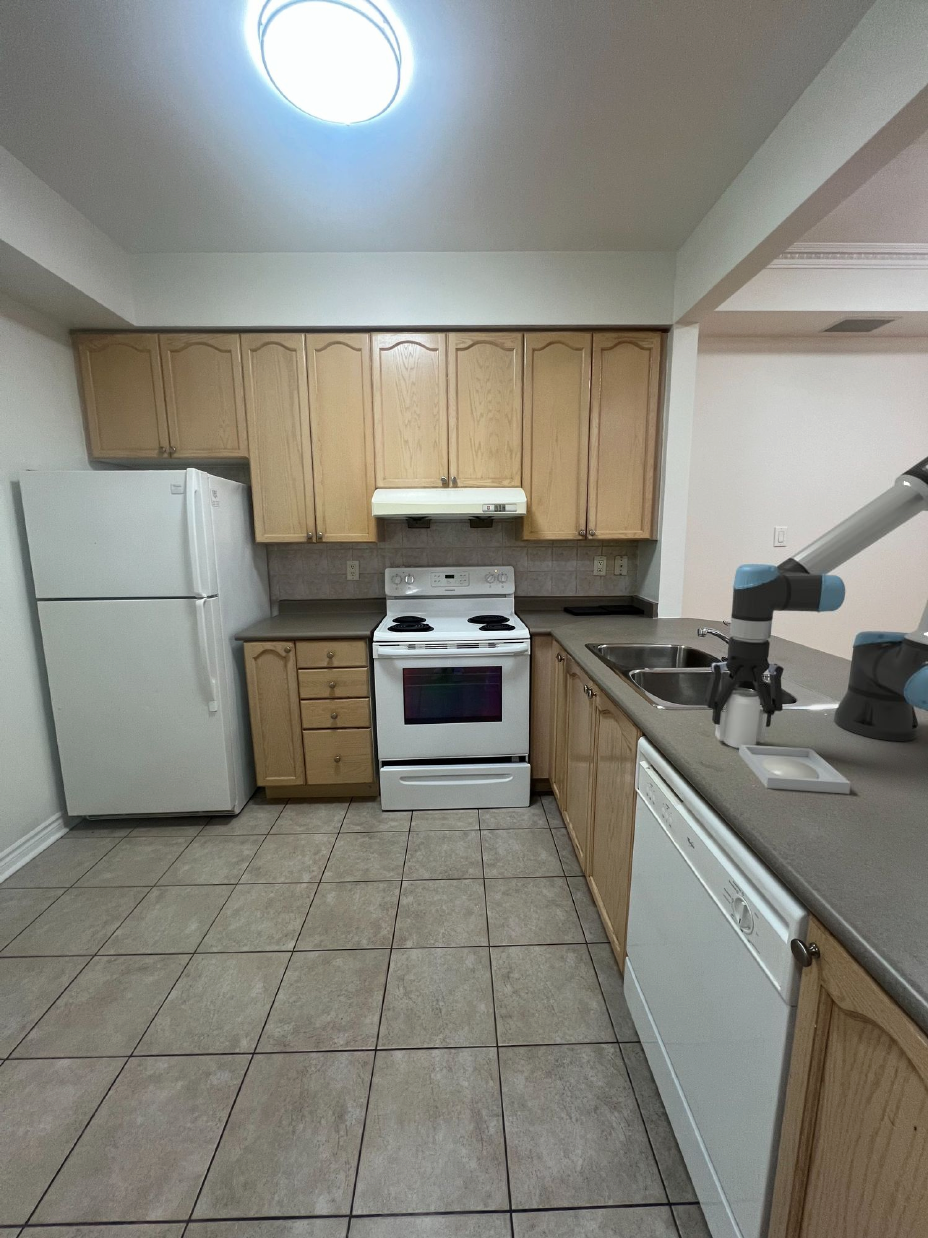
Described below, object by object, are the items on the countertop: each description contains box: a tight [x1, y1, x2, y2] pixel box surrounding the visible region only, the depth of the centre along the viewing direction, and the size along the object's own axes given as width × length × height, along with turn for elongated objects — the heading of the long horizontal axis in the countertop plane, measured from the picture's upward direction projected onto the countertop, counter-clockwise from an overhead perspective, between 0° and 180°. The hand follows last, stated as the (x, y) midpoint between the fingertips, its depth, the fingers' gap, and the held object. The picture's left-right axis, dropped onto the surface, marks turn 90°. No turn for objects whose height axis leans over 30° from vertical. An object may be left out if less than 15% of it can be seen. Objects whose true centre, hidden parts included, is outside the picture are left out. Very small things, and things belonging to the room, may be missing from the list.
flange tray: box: [738, 745, 852, 795], centre depth 95 cm, size 14×14×2 cm
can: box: [722, 687, 761, 750], centre depth 106 cm, size 6×6×12 cm
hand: (739, 738), depth 107 cm, fingers open, 8 cm apart
